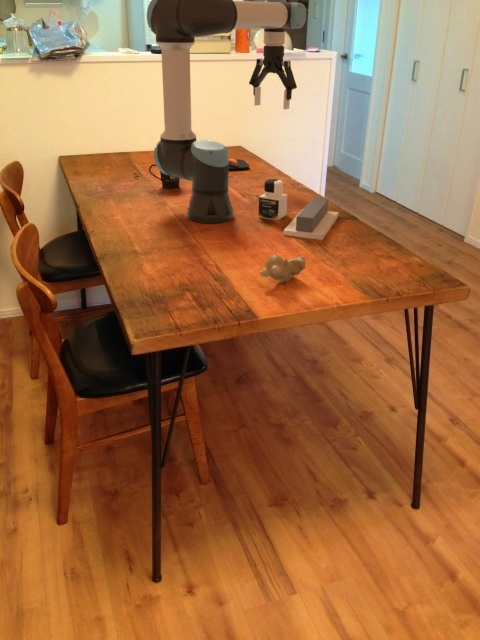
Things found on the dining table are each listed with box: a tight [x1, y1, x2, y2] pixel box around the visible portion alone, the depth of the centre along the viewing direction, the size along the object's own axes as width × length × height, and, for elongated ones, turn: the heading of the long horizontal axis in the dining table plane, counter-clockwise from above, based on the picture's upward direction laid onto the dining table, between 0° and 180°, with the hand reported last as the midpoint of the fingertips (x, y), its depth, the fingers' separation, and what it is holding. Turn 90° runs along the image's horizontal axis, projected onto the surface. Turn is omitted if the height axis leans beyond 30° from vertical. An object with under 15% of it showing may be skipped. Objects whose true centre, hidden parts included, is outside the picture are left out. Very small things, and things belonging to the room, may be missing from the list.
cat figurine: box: [258, 254, 306, 284], centre depth 149 cm, size 8×7×12 cm
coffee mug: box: [148, 163, 181, 190], centre depth 225 cm, size 12×9×10 cm
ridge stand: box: [283, 196, 339, 241], centre depth 187 cm, size 24×12×6 cm, turn 160°
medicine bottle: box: [258, 178, 288, 222], centre depth 194 cm, size 7×7×12 cm
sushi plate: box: [229, 158, 250, 170], centre depth 260 cm, size 29×30×4 cm
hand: (271, 107), depth 223 cm, fingers open, 13 cm apart
